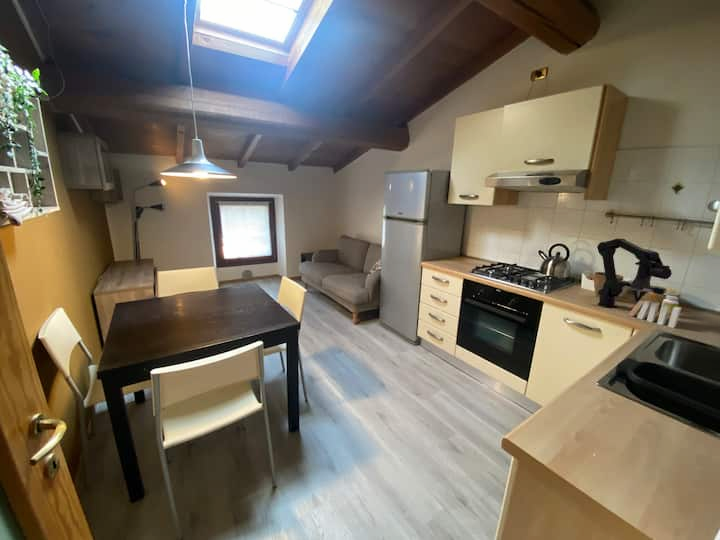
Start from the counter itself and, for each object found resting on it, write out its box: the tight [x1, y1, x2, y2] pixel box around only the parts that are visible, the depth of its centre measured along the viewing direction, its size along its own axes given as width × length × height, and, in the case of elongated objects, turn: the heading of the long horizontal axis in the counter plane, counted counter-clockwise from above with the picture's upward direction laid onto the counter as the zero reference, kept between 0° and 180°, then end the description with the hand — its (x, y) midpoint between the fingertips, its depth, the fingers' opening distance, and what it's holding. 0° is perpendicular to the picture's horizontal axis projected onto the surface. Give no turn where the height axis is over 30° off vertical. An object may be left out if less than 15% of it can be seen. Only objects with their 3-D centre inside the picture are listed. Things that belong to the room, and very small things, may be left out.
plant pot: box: [593, 271, 625, 299], centre depth 190 cm, size 15×15×16 cm
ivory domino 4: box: [667, 306, 682, 329], centre depth 147 cm, size 2×5×10 cm, turn 123°
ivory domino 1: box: [636, 299, 654, 320], centre depth 156 cm, size 2×5×10 cm, turn 122°
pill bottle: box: [659, 294, 680, 318], centre depth 163 cm, size 6×6×11 cm
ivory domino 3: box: [656, 304, 670, 326], centre depth 150 cm, size 2×5×10 cm, turn 123°
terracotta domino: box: [627, 298, 647, 318], centre depth 158 cm, size 2×5×10 cm, turn 122°
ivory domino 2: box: [646, 301, 660, 323], centre depth 153 cm, size 2×5×10 cm, turn 123°
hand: (636, 302), depth 158 cm, fingers closed
